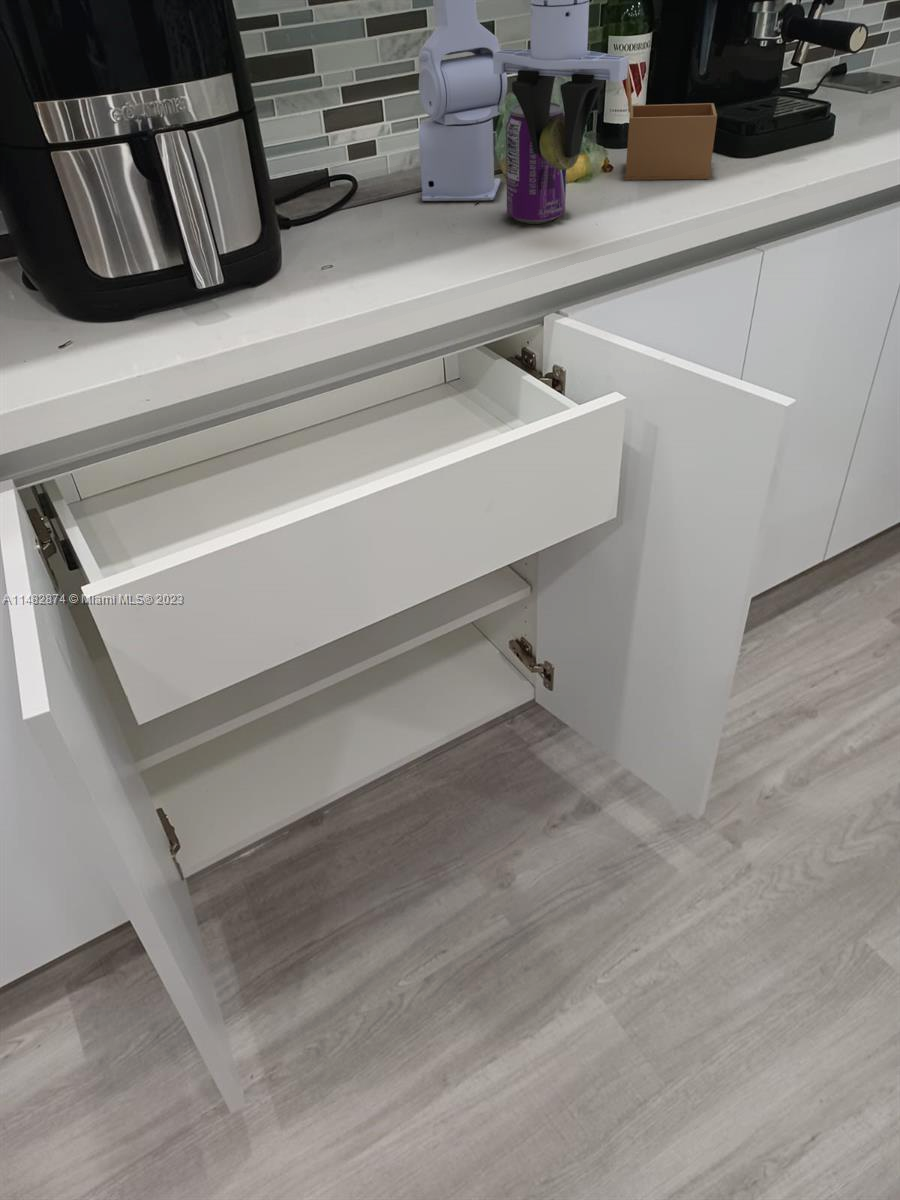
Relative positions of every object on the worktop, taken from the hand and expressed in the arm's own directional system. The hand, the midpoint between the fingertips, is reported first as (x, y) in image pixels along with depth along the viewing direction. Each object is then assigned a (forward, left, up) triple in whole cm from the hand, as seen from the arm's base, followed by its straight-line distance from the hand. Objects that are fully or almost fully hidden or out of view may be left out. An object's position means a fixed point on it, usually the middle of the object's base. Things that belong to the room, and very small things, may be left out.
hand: (556, 153), depth 94 cm
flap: (+7, +26, +1) cm, 27 cm away
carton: (+13, +26, -9) cm, 31 cm away
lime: (0, 0, -2) cm, 2 cm away
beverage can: (-3, +8, -10) cm, 13 cm away
